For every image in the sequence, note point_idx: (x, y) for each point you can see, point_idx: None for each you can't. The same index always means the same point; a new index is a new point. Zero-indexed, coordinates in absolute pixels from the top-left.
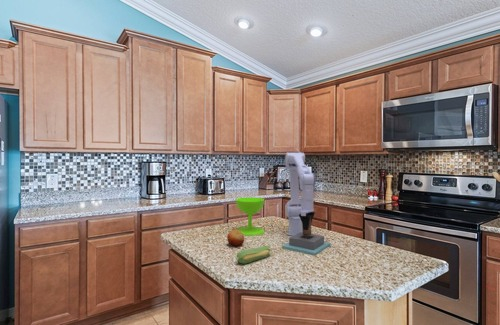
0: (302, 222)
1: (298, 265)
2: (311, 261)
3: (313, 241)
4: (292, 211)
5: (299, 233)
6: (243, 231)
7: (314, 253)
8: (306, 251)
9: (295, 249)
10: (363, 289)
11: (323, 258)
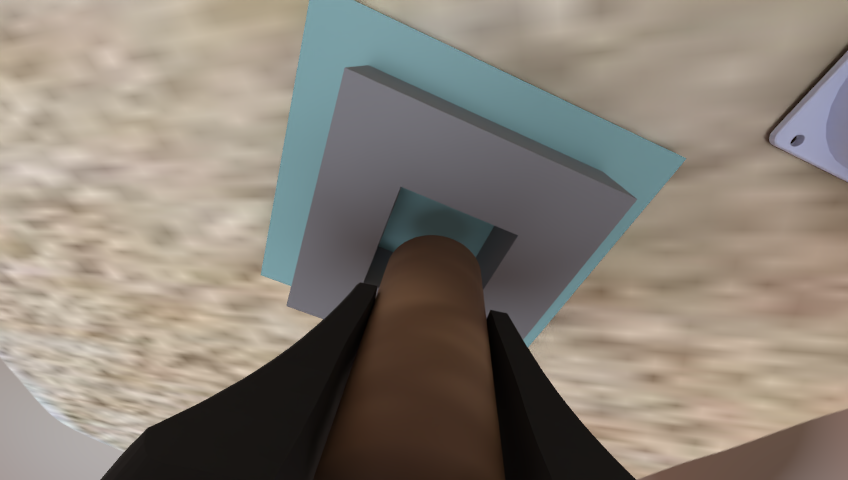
0: (294, 352)
1: (38, 172)
2: (154, 243)
3: (305, 305)
4: None
5: (572, 185)
6: None
7: (263, 268)
8: (270, 222)
9: (286, 137)
10: (24, 382)
11: (241, 302)
